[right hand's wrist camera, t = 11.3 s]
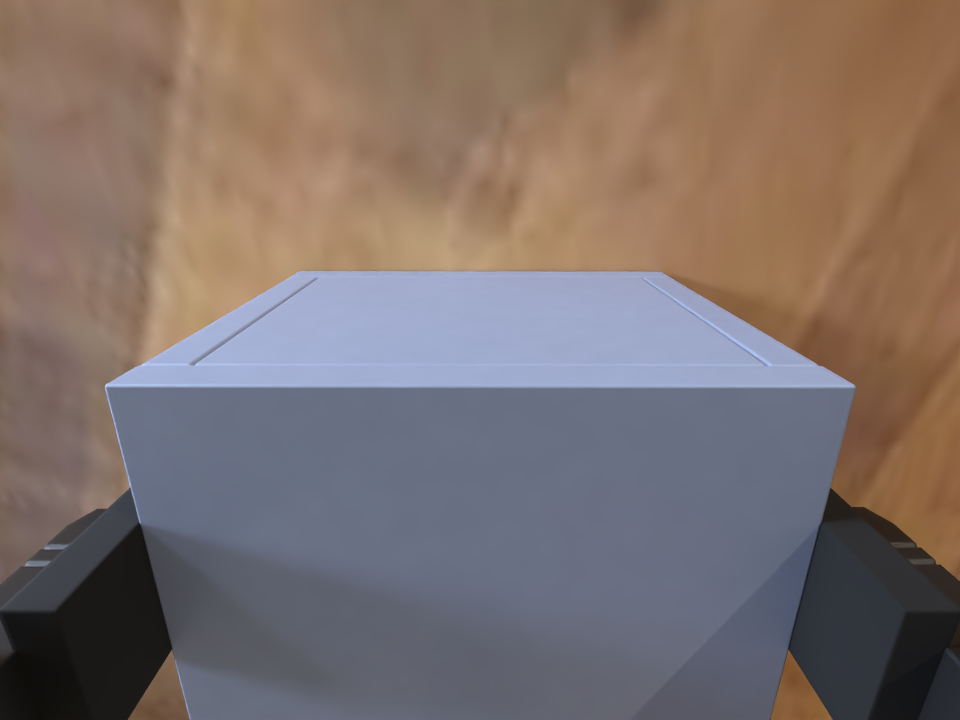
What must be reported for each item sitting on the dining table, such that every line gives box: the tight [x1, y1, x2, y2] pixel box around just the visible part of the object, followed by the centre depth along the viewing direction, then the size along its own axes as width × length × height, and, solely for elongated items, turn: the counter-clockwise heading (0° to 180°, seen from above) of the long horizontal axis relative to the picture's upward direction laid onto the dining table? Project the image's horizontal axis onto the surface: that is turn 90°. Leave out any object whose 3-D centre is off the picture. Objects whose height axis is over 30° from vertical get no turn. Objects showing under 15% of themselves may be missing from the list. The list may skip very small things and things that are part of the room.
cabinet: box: [105, 271, 856, 720], centre depth 15 cm, size 19×11×9 cm, turn 0°
